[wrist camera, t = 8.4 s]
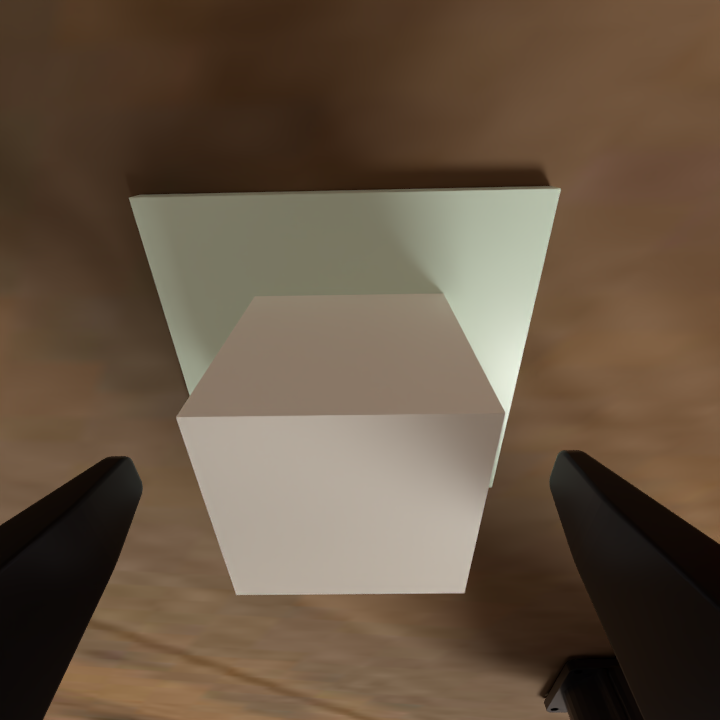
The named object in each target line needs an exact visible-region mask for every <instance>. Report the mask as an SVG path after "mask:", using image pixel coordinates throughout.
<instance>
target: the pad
mask: <svg viewBox="0 0 720 720" xmlns="http://www.w3.org/2000/svg"><path fill="white" fill-rule="evenodd" d="M560 190H561V188H557V187H553V186H527V187H480V188H433V189H386V190H339V191H292V192H245V193H198V194H151V195H137V196H133V197H129V200H130V204H131V207H132V210H133V213H134V217H135V220H136V223H137V226H138V230H139V233H140V236H141V239H142V243H143V246H144V249H145V252H146V256H147V259H148V262H149V265H150V268H151V272H152V275H153V278H154V281H155V285H156V288H157V291H158V294H159V298H160V301H161V304H162V307H163V311H164V314H165V317H166V320H167V324H168V327H169V330H170V333H171V337H172V340H173V343H174V346H175V350H176V353H177V356H178V359H179V362H180V366H181V369H182V372H183V375H184V379H185V382H186V385H187V388H188V392H189V395H191V393H192V392H193V390H194V389H195V387H196V386H197V384H198V383H199V381H200V380H201V378H202V376H203V375H204V373H205V372H206V370H207V369H208V367H209V366H210V364H211V363H212V361H213V360H214V358H215V356H216V355H217V353H218V352H219V350H220V349H221V347H222V346H223V344H224V343H225V341H226V340H227V338H228V337H229V335H230V333H231V332H232V330H233V329H234V327H235V326H236V324H237V323H238V321H239V320H240V318H241V317H242V315H243V314H244V312H245V310H246V309H247V307H248V306H249V304H250V303H251V301H252V300H253V298H254V297H255V296H303V295H368V294H432V293H444V295H445V297H446V299H447V301H448V303H449V305H450V307H451V309H452V311H453V313H454V315H455V316H456V318H457V320H458V322H459V324H460V326H461V328H462V330H463V332H464V334H465V336H466V338H467V340H468V342H469V344H470V345H471V347H472V349H473V351H474V353H475V355H476V357H477V359H478V361H479V363H480V365H481V367H482V369H483V371H484V373H485V374H486V376H487V378H488V380H489V382H490V384H491V386H492V388H493V390H494V392H495V394H496V396H497V398H498V400H499V402H500V403H501V405H502V407H503V409H504V411H505V413H506V414H505V418H504V422H503V427H502V431H501V435H500V440H499V444H498V449H497V453H496V457H495V462H494V466H493V470H492V475H491V479H490V484H489V487H492V485H493V480H494V476H495V472H496V467H497V463H498V459H499V454H500V450H501V446H502V441H503V437H504V433H505V428H506V424H507V420H508V415H509V411H510V407H511V402H512V398H513V394H514V389H515V385H516V381H517V376H518V372H519V368H520V363H521V359H522V355H523V350H524V346H525V342H526V337H527V333H528V329H529V325H530V320H531V316H532V312H533V307H534V303H535V299H536V294H537V290H538V286H539V281H540V277H541V273H542V268H543V264H544V260H545V255H546V251H547V247H548V242H549V238H550V234H551V229H552V225H553V221H554V216H555V212H556V208H557V203H558V199H559V195H560Z"/></svg>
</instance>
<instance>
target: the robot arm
mask: <svg viewBox="0 0 720 720" xmlns="http://www.w3.org/2000/svg"><path fill="white" fill-rule="evenodd" d="M549 482H550V489H551V492H552V495H553V499H554V502H555V505H556V508H557V511H558V514H559V517H560V520H561V523H562V526H563V529H564V532H565V535H566V538H567V542H568V545H569V548H570V551H571V553H572V556H573V559H574V562H575V564H576V567H577V569H578V571H579V574H580V576H581V578H582V581H583V583H584V585H585V587H586V590H587V592H588V594H589V596H590V599H591V601H592V603H593V605H594V608H595V610H596V612H597V614H598V617H599V619H600V621H601V623H602V626H603V628H604V630H605V633H606V635H607V637H608V639H609V642H610V644H611V646H612V648H613V651H614V653H615V655H616V657H617V659H582V660H571V661H569V662H567V663H566V664H565V666H564V668H563V670H562V671H561V673H560V675H559V677H558V678H557V680H556V682H555V683H554V685H553V687H552V689H551V690H550V692H549V694H548V696H547V697H546V699H545V701H544V704H545V707H546V710H547V711H548V712H568V714H569V717H570V720H720V544H718V543H717V542H716V541H714V540H713V539H711V538H710V537H708V536H707V535H705V534H704V533H702V532H701V531H699V530H698V529H696V528H695V527H693V526H692V525H691V524H689V523H688V522H686V521H685V520H683V519H682V518H680V517H679V516H677V515H676V514H674V513H673V512H671V511H670V510H668V509H667V508H666V507H664V506H663V505H661V504H660V503H658V502H657V501H655V500H654V499H652V498H651V497H649V496H648V495H646V494H645V493H643V492H642V491H641V490H639V489H638V488H636V487H635V486H633V485H632V484H630V483H629V482H627V481H626V480H624V479H623V478H621V477H620V476H618V475H617V474H615V473H614V472H613V471H611V470H610V469H608V468H607V467H605V466H604V465H602V464H601V463H599V462H598V461H596V460H595V459H593V458H592V457H590V456H589V455H588V454H586V453H584V452H583V451H579V450H564V451H561V452H559V453H558V455H557V458H556V461H555V464H554V467H553V470H552V473H551V476H550V481H549ZM142 489H143V486H142V481H141V479H140V477H139V475H138V472H137V470H136V468H135V466H134V464H133V461H132V460H131V459H130V458H129V457H126V456H111V457H107V458H105V459H103V460H101V461H100V462H98V463H97V464H95V465H94V466H92V467H91V468H89V469H87V470H86V471H84V472H83V473H81V474H80V475H78V476H77V477H75V478H73V479H72V480H70V481H69V482H67V483H66V484H64V485H63V486H61V487H59V488H58V489H56V490H55V491H53V492H52V493H50V494H49V495H47V496H45V497H44V498H42V499H41V500H39V501H38V502H36V503H35V504H33V505H31V506H30V507H28V508H27V509H25V510H24V511H22V512H20V513H19V514H17V515H16V516H14V517H13V518H11V519H10V520H8V521H6V522H5V523H3V524H2V525H0V720H43V719H44V716H45V714H46V712H47V710H48V708H49V706H50V704H51V702H52V700H53V697H54V695H55V693H56V691H57V689H58V687H59V685H60V683H61V680H62V678H63V676H64V674H65V672H66V670H67V668H68V666H69V664H70V661H71V659H72V657H73V655H74V653H75V651H76V649H77V647H78V645H79V642H80V640H81V638H82V636H83V634H84V632H85V630H86V628H87V626H88V623H89V621H90V619H91V617H92V615H93V613H94V611H95V609H96V607H97V604H98V602H99V600H100V598H101V596H102V594H103V592H104V590H105V588H106V585H107V583H108V581H109V579H110V577H111V575H112V572H113V570H114V568H115V566H116V563H117V561H118V558H119V556H120V553H121V550H122V547H123V545H124V542H125V539H126V536H127V534H128V531H129V528H130V525H131V522H132V520H133V517H134V514H135V511H136V509H137V506H138V503H139V500H140V497H141V494H142Z"/></svg>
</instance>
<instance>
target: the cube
mask: <svg viewBox="0 0 720 720" xmlns="http://www.w3.org/2000/svg"><path fill="white" fill-rule="evenodd" d="M505 414H506V413H505V411H504V409H503V407H502V405H501V403H500V402H499V400H498V398H497V396H496V394H495V392H494V390H493V388H492V386H491V384H490V382H489V380H488V378H487V376H486V374H485V373H484V371H483V369H482V367H481V365H480V363H479V361H478V359H477V357H476V355H475V353H474V351H473V349H472V347H471V345H470V344H469V342H468V340H467V338H466V336H465V334H464V332H463V330H462V328H461V326H460V324H459V322H458V320H457V318H456V316H455V315H454V313H453V311H452V309H451V307H450V305H449V303H448V301H447V299H446V297H445V295H444V293H432V294H368V295H303V296H255V297H254V298H253V300H252V301H251V303H250V304H249V306H248V307H247V309H246V310H245V312H244V314H243V315H242V317H241V318H240V320H239V321H238V323H237V324H236V326H235V327H234V329H233V330H232V332H231V333H230V335H229V337H228V338H227V340H226V341H225V343H224V344H223V346H222V347H221V349H220V350H219V352H218V353H217V355H216V356H215V358H214V360H213V361H212V363H211V364H210V366H209V367H208V369H207V370H206V372H205V373H204V375H203V376H202V378H201V380H200V381H199V383H198V384H197V386H196V387H195V389H194V390H193V392H192V393H191V395H190V396H189V398H188V399H187V401H186V403H185V404H184V406H183V407H182V409H181V410H180V412H179V413H178V415H177V416H176V419H177V422H178V425H179V428H180V431H181V434H182V437H183V440H184V443H185V445H186V448H187V451H188V454H189V457H190V460H191V463H192V466H193V469H194V472H195V475H196V478H197V481H198V484H199V487H200V489H201V492H202V495H203V498H204V501H205V504H206V507H207V510H208V513H209V516H210V519H211V522H212V525H213V528H214V531H215V534H216V536H217V539H218V542H219V545H220V548H221V551H222V554H223V557H224V560H225V563H226V566H227V569H228V572H229V575H230V578H231V580H232V583H233V586H234V589H235V592H236V595H288V594H424V593H465V589H466V584H467V580H468V575H469V571H470V567H471V562H472V558H473V554H474V549H475V545H476V540H477V536H478V532H479V527H480V523H481V519H482V514H483V510H484V505H485V501H486V497H487V492H488V488H489V484H490V479H491V475H492V470H493V466H494V462H495V457H496V453H497V449H498V444H499V440H500V435H501V431H502V427H503V422H504V418H505Z"/></svg>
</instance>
